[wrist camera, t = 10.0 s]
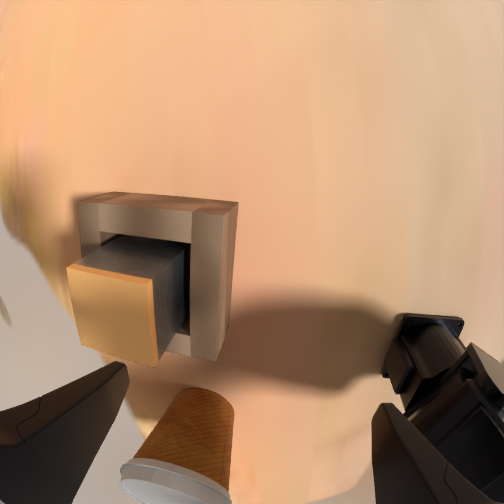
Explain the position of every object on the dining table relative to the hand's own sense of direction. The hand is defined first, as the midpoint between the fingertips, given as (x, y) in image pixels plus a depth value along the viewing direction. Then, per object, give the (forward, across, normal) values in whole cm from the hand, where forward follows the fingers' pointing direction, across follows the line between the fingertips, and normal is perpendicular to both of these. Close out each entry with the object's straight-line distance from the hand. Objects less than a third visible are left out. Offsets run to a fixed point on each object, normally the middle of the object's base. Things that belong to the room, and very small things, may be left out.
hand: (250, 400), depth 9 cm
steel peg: (+13, +8, +1) cm, 15 cm away
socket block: (+13, +8, +1) cm, 15 cm away
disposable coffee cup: (+13, +5, +17) cm, 22 cm away
